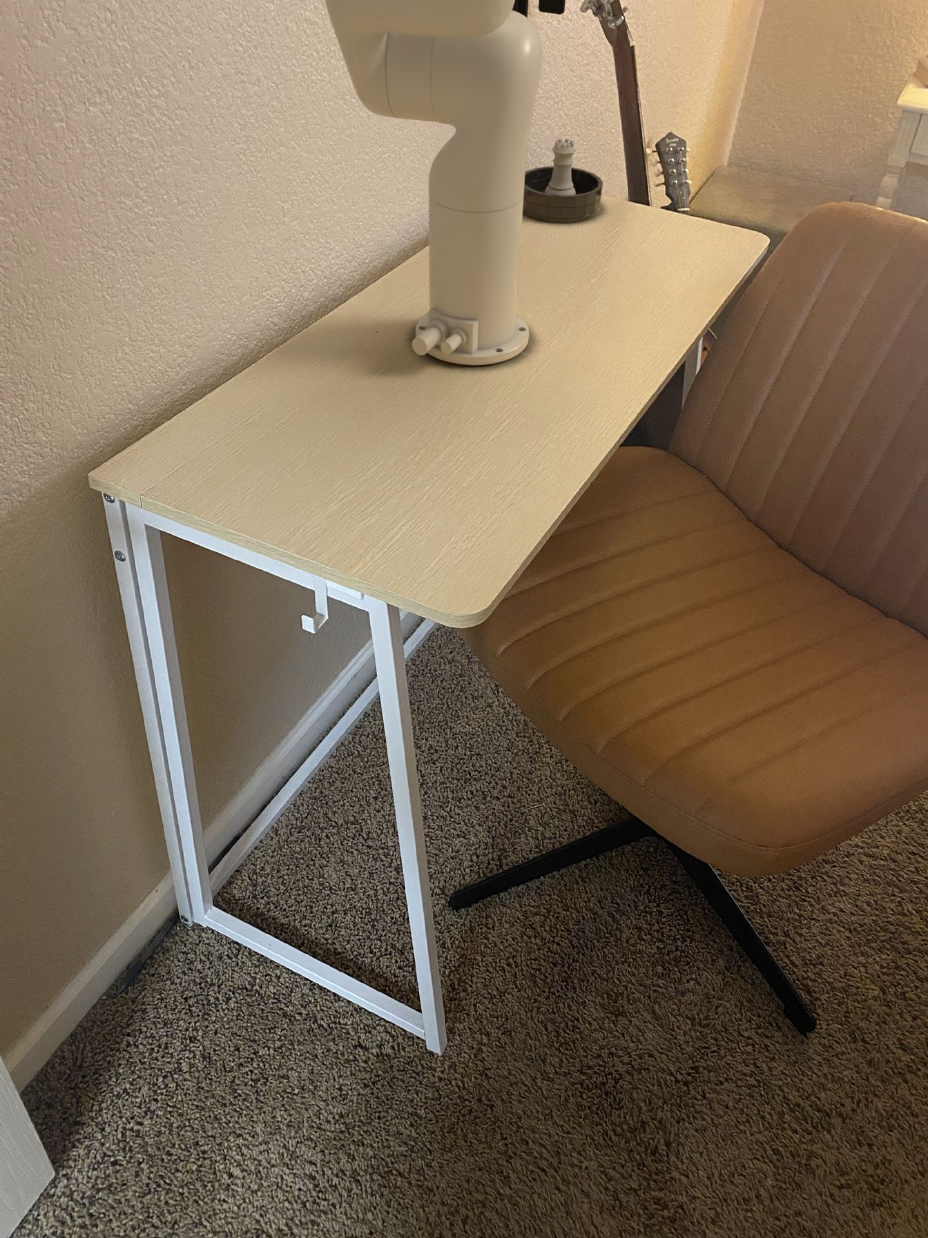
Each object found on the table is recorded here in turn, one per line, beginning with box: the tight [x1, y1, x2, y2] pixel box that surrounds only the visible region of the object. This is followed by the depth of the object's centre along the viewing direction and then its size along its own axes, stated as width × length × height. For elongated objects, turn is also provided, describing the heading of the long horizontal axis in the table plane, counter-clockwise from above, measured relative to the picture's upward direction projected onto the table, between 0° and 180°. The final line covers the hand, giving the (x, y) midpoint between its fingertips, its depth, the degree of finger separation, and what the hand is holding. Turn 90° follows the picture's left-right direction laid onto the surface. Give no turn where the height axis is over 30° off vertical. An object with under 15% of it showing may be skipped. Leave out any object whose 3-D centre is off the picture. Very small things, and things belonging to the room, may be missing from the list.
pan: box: [523, 165, 604, 224], centre depth 131 cm, size 12×12×4 cm
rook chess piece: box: [545, 138, 577, 195], centre depth 129 cm, size 4×4×8 cm
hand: (532, 19), depth 107 cm, fingers open, 9 cm apart
